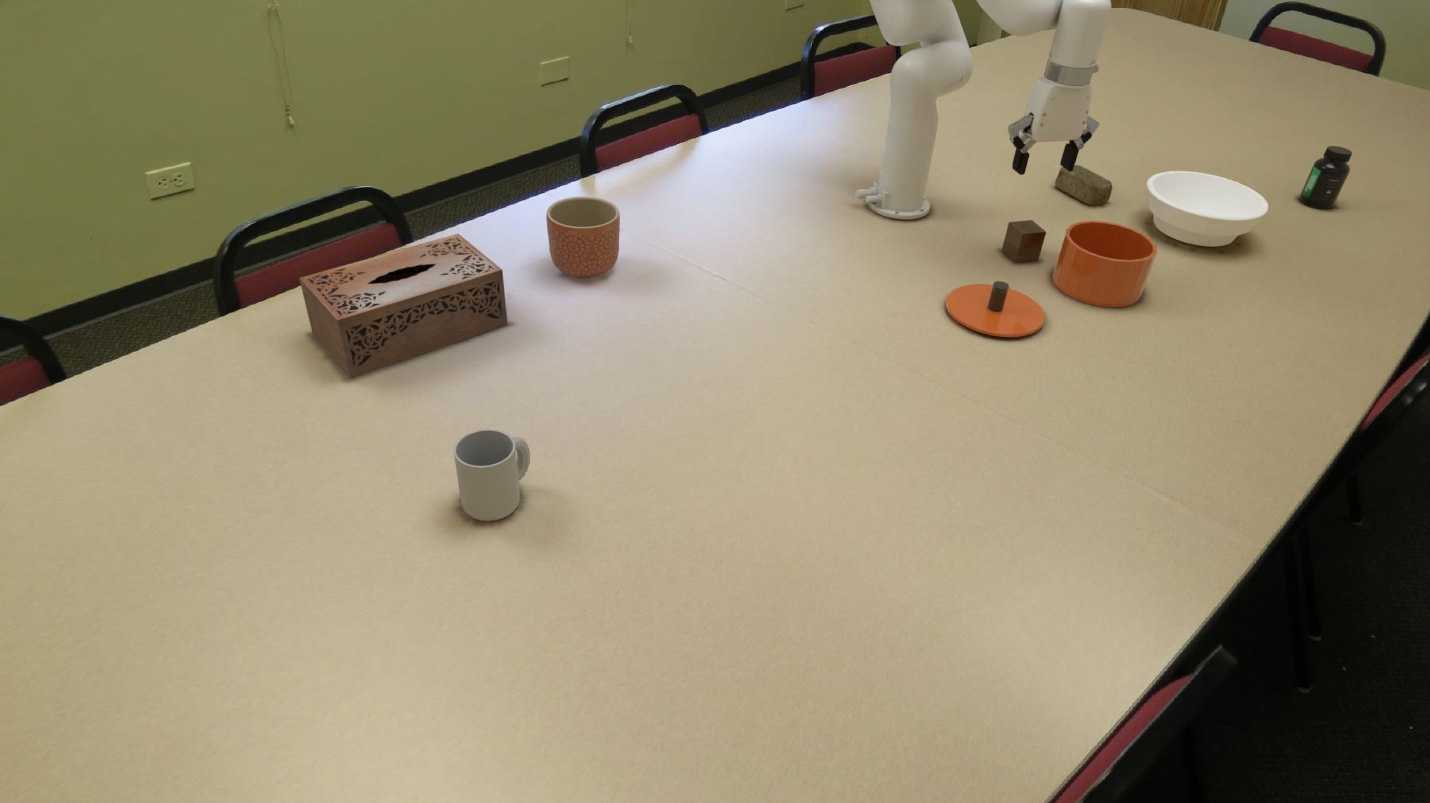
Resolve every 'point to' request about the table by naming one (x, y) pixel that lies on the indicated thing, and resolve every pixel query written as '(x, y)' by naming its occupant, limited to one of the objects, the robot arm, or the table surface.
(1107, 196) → the stone block
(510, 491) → the cup
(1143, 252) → the pan
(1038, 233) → the metal block
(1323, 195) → the supplement bottle
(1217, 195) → the bowl
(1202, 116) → the table surface
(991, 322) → the pan lid
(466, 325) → the tissue box cover
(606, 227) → the planter
